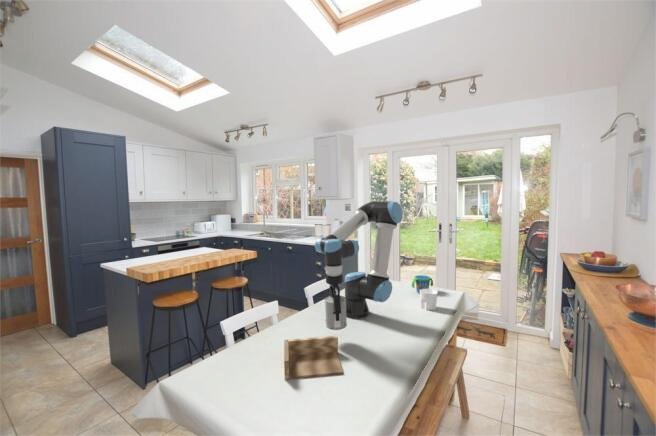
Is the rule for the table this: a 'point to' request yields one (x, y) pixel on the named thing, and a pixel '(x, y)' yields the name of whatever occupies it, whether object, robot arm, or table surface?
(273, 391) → the table surface
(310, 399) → the table surface
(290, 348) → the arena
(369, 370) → the table surface
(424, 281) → the snack cup
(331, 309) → the beer can
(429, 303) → the cup
